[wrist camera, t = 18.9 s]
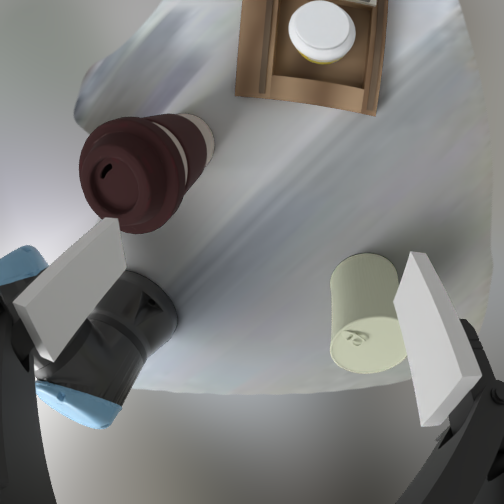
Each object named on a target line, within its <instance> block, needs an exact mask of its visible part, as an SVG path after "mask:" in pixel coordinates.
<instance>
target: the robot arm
mask: <svg viewBox="0 0 504 504" xmlns="http://www.w3.org/2000/svg"><path fill="white" fill-rule="evenodd" d="M126 268H127V265H126V260H125V255H124V250H123V244H122V239H121V233H120V227H119V221H118V218H106V217H105V218H104V219H103V220H101V221H100V222H99V223H98V224H97V225H95V226H94V227H93V228H92V229H91V230H90V231H88V232H87V233H86V234H85V235H83V236H82V237H81V238H80V239H79V240H78V241H76V242H75V243H74V244H73V245H72V246H71V247H70V248H68V249H67V250H66V251H65V252H64V253H63V254H62V255H61V256H60V257H59V258H57V259H56V260H55V261H54V262H53V263H52V264H51V265H50V266H49V265H48V264H47V262H46V261H45V260H44V258H43V257H42V255H41V254H40V253H39V251H38V250H37V249H36V248H35V247H33V246H30V245H26V246H22V247H20V248H18V249H17V250H14V251H12V252H11V253H9V254H7V255H6V256H4V257H2V258H1V259H0V504H57V503H56V499H55V496H54V492H53V489H52V485H51V481H50V477H49V472H48V468H47V464H46V459H45V454H44V448H43V443H42V437H41V431H40V424H39V417H38V408H37V398H36V394H37V395H38V396H39V398H40V399H41V400H42V401H44V402H45V403H46V404H47V405H49V406H50V407H51V408H53V409H54V410H56V411H57V412H59V413H61V414H62V415H64V416H66V417H67V418H69V419H71V420H73V421H76V422H77V423H80V424H82V425H85V426H87V427H91V428H95V429H105V428H107V427H109V426H110V425H111V424H112V422H113V420H114V419H115V417H116V416H117V414H118V413H119V411H121V410H122V405H123V403H124V401H125V399H126V398H127V395H128V394H129V392H130V390H131V388H132V386H133V384H134V382H135V380H136V378H137V377H138V375H139V373H140V371H141V369H142V367H143V365H144V363H145V362H146V360H147V358H148V357H149V356H151V355H152V354H153V353H154V352H156V351H157V350H158V349H159V348H160V347H161V346H163V345H164V344H165V343H166V342H168V341H169V339H170V338H171V336H172V334H173V333H174V331H175V329H176V327H177V313H176V310H175V308H174V306H173V304H172V302H171V300H170V299H169V298H168V296H167V295H166V294H165V293H164V292H163V291H162V290H161V289H160V288H159V287H158V286H157V285H156V284H155V283H153V282H152V281H150V280H149V279H147V278H145V277H144V276H142V275H139V274H137V273H134V272H130V271H125V270H126ZM393 303H394V306H395V310H396V313H397V317H398V321H399V324H400V328H401V332H402V336H403V340H404V344H405V348H406V352H407V357H408V361H409V365H410V370H411V375H412V379H413V384H414V389H415V394H416V400H417V405H418V411H419V417H420V423H421V427H425V426H437V425H440V424H441V423H442V422H443V421H444V420H445V419H446V418H447V417H448V416H449V421H450V426H449V427H448V428H447V429H446V430H445V431H444V432H443V433H442V434H441V435H440V436H439V437H438V438H437V439H436V441H439V442H438V444H437V445H436V447H435V448H434V450H433V452H432V453H431V455H430V456H429V458H428V459H427V461H426V463H425V464H424V465H423V467H422V468H421V470H420V471H419V473H418V474H417V475H416V477H415V478H414V480H413V481H412V482H411V484H410V485H409V486H408V488H407V489H406V490H405V492H404V493H403V494H402V496H401V497H400V498H399V499H398V500H397V502H396V503H395V504H504V382H502V381H499V380H496V379H495V377H494V374H493V372H492V369H491V366H490V364H489V361H488V359H487V357H486V354H485V352H484V350H483V347H482V345H481V342H480V341H479V338H478V336H477V333H476V331H475V329H474V328H473V327H472V325H471V324H470V323H469V322H468V321H467V320H466V319H459V317H458V315H457V313H456V311H455V309H454V307H453V305H452V302H451V300H450V298H449V296H448V294H447V292H446V290H445V288H444V286H443V284H442V282H441V280H440V279H439V277H438V275H437V273H436V271H435V269H434V267H433V265H432V264H431V262H430V260H429V258H428V256H427V255H426V253H420V252H413V251H410V254H409V258H408V261H407V264H406V267H405V270H404V273H403V276H402V279H401V282H400V284H399V287H398V290H397V293H396V296H395V298H394V301H393ZM35 377H36V378H37V381H36V382H35Z"/></svg>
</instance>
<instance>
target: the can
mask: <svg viewBox="0 0 504 504" xmlns="http://www.w3.org/2000/svg"><path fill="white" fill-rule="evenodd" d="M398 287H399V282H398V275H397V272H396V269H395V267H394V266H393V264H392V263H391V262H390V261H389V260H387V259H386V258H384V257H382V256H380V255H377V254H371V253H363V254H357V255H354V256H351V257H349V258H347V259H345V260H344V261H343V262H341V263H340V264H339V265H338V266H337V267H336V269H335V270H334V272H333V274H332V276H331V280H330V289H331V296H332V328H331V344H330V353H331V356H332V358H333V360H334V361H335V363H336V364H337V365H338V366H340V367H341V368H343V369H345V370H347V371H350V372H354V373H361V374H371V373H377V372H382V371H385V370H388V369H390V368H392V367H394V366H396V365H398V364H399V363H401V362H402V361H403V360H404V359H405V358H406V357H407V352H406V348H405V344H404V340H403V336H402V332H401V328H400V324H399V321H398V317H397V313H396V310H395V306H394V303H393V301H394V298H395V296H396V293H397V290H398Z"/></svg>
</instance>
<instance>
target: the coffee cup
mask: <svg viewBox="0 0 504 504" xmlns="http://www.w3.org/2000/svg"><path fill="white" fill-rule="evenodd" d="M214 145H215V144H214V137H213V134H212V132H211V129H210V128H209V126H208V125H207V124H206V123H205V122H204V121H203V120H202V119H200V118H199V117H197V116H194V115H191V114H185V113H184V114H162V115H156V116H150V117H144V118H139V117H122V118H118V119H115V120H111V121H108V122H106V123H104V124H102V125H100V126H99V127H97V128H96V129H95V130H94V131H93V132H92V133H91V134H90V136H89V137H88V138H87V140H86V142H85V144H84V146H83V149H82V151H81V155H80V160H79V177H80V182H81V186H82V189H83V192H84V195H85V198H86V200H87V202H88V204H89V205H90V207H91V208H92V209H93V211H94V212H95V213H96V214H97V215H98V216H99V217H100V218H101V219H102V220H103V219H104V218H105V217H106V218H118V221H119V227H120V231H123V232H125V233H132V234H143V233H148V232H152V231H154V230H156V229H158V228H160V227H161V226H162V225H164V224H165V223H166V222H167V221H168V220H169V219H170V218H171V217H172V216H173V214H174V213H175V212H176V211H177V209H178V207H179V205H180V204H181V202H182V199H183V196H184V194H185V193H186V192H187V191H188V190H189V188H190V187H191V186H192V185H193V184H194V182H195V181H196V180H197V179H198V178H199V176H200V175H201V173H202V172H203V170H204V168H205V167H206V165H207V164H208V163H209V162H210V160H211V158H212V156H213V152H214Z"/></svg>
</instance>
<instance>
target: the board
mask: <svg viewBox="0 0 504 504" xmlns="http://www.w3.org/2000/svg"><path fill="white" fill-rule="evenodd" d="M311 1H317V0H243V1H242V11H241V22H240V34H239V46H238V58H237V71H236V85H235V96H241V97H254V98H265V99H274V100H283V101H291V102H299V103H306V104H312V105H319V106H325V107H331V108H336V109H342V110H347V111H352V112H357V113H362V114H366V115H371V116H376V110H377V103H378V97H379V90H380V82H381V75H382V67H383V58H384V49H385V38H386V27H387V13H388V0H377V3H376V6H375V7H374V6H369V5H365V4H360V3H355V2H350V1H345V0H323V1H328V2H331V3H334V4H336V5H337V6H339V7H340V8H342V9H343V10H344V11H345V12H346V13H347V14H348V15H349V16H350V17H351V19H352V21H353V23H354V26H355V31H356V35H355V41H354V44H353V46H352V47H351V49H350V50H349V51H348V52H347V54H346V55H345V56H344V57H343V58H342V59H340V60H339V61H337V62H335V63H332V64H325V65H321V64H316V63H313V62H310V61H309V60H307V59H305V58H304V57H303V56H302V55H301V54H300V53H299V52H298V50H297V49H296V47H295V46H294V45H293V43H292V41H291V39H290V36H289V22H290V19H291V17H292V15H293V13H294V12H295V11H296V10H297V9H298V8H300V7H301V6H303V5H304V4H306V3H308V2H311Z"/></svg>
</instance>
